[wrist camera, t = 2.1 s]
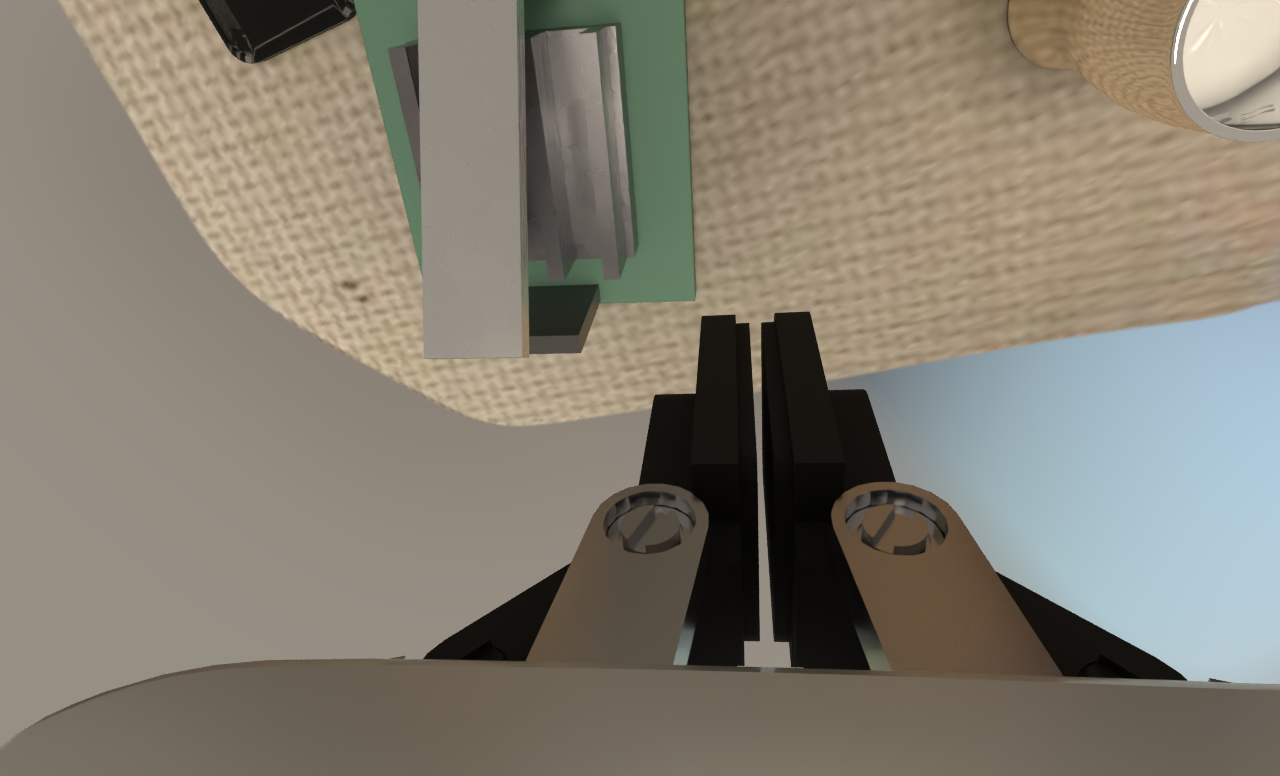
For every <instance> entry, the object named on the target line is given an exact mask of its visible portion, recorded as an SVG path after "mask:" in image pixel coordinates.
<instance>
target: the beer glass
mask: <svg viewBox="0 0 1280 776" xmlns="http://www.w3.org/2000/svg"><path fill="white" fill-rule="evenodd" d="M1008 25H1009V30H1010V34H1011V37H1012V39H1013V41H1014V43H1015V45H1016V47H1017V48H1018V50H1019V51H1020V52H1021V54H1022V55H1023V56H1024V57H1026V58H1027V59H1028V60H1029V61H1031V62H1033V63H1034V64H1036V65H1039V66H1041V67H1044V68H1049V69H1057V70H1064V69H1074V68H1076V69H1077V70H1078V71H1079V72H1080V73H1081V74H1082V75H1083V76H1084V77H1085V78H1086V79H1087V80H1088V81H1089V82H1090V83H1091V84H1092V85H1093V86H1094V87H1095V88H1096V89H1097V90H1098V91H1100V92H1101V93H1102V94H1104V95H1105V96H1106V97H1107V98H1109V99H1110V100H1111V101H1113V102H1114V103H1116V104H1117V105H1119V106H1121V107H1123V108H1125V109H1127V110H1129V111H1132V112H1134V113H1136V114H1138V115H1140V116H1143V117H1145V118H1148V119H1151V120H1154V121H1157V122H1161V123H1164V124H1167V125H1170V126H1174V127H1179V128H1183V129H1188V130H1192V131H1197V132H1202V133H1208V134H1213V135H1216V136H1218V137H1221V138H1225V139H1229V140H1234V141H1242V142H1264V141H1272V140H1278V139H1280V0H1009V5H1008Z"/></svg>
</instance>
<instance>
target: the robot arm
mask: <svg viewBox="0 0 1280 776" xmlns="http://www.w3.org/2000/svg"><path fill="white" fill-rule="evenodd" d="M761 362H762V458H763V459H762V461H763V486H764V501H765V515H766V531H767V546H768V560H769V575H770V591H771V606H772V620H773V635H774V641H775V642H789V647H790V659H791V667H802V668H771V667H769V668H768V667H736V666H744V641H760V628H759V627H760V624H759V623H760V622H759V557H758V556H759V555H758V554H759V551H758V485H757V484H758V483H757V452H756V437H755V436H756V435H755V417H754V399H753V382H752V364H751V347H750V329H749V323H738V324H736V317H735V315H716V316H702V319H701V332H700V345H699V358H698V372H697V385H696V394H661V395H655V397H654V400H653V406H652V413H651V418H650V424H649V429H648V435H647V441H646V447H645V452H644V458H643V464H642V470H641V476H640V481H639V485H638V486H634V487H629V488H627V489H624V490H622V491H620V492H618V493H615V494H613V495H612V496H611V497H609V498H608V499H607V500H605V501H604V502H603V503H602V504H601V505H600V506H599V508H598V509H597V510H596V512H595V513H594V515H593V517H592V519H591V521H590V523H589V525H588V527H587V530H586V532H585V534H584V536H583V538H582V541H581V543H580V545H579V547H578V549H577V551H576V553H575V555H574V558H573V560H572V562H571V563H570V564H568V565H567V566H565V567H563V568H562V569H560V570H558V571H557V572H555V573H553V574H552V575H550V576H548V577H547V578H545V579H544V580H542V581H541V582H539V583H537V584H536V585H534V586H532V587H531V588H529V589H527V590H526V591H524V592H522V593H521V594H519V595H517V596H516V597H514V598H513V599H511V600H509V601H508V602H506V603H505V604H503V605H501V606H500V607H498V608H496V609H495V610H493V611H492V612H490V613H488V614H487V615H485V616H483V617H482V618H480V619H478V620H477V621H475V622H473V623H472V624H470V625H469V626H467V627H465V628H464V629H462V630H460V631H459V632H457V633H456V634H454V635H452V636H451V637H449V638H448V639H446V640H444V641H443V642H442V643H440V644H439V645H438V646H436V647H435V648H434V649H433V650H431V651H430V652H429V653H427V655H426V656H425V657H424V659H406V658H405V656H402V657H396V658H391V659H369V658H368V659H312V660H311V659H308V660H307V659H306V660H264V661H253V662H242V663H232V664H221V665H220V664H219V665H212V666H207V667H202V668H196V669H190V670H185V671H180V672H174V673H170V674H163V675H160V676H157V677H154V678H150V679H146V680H143V681H140V682H136V683H133V684H130V685H126V686H123V687H119V688H116V689H112V690H109V691H106V692H103V693H101V694H98V695H95V696H93V697H91V698H88V699H85V700H83V701H80V702H77V703H75V704H72V705H70V706H68V707H66V708H64V709H62V710H59V711H57V712H55V713H53V714H50V715H48V716H46V717H44V718H42V719H41V720H39V721H38V722H36V723H34V724H33V725H31V726H30V727H28V728H26V729H24V730H23V731H21V732H20V733H18V734H16V735H15V736H14V737H12V738H11V739H10V740H9V741H7V742H6V743H5V744H3V745H2V746H1V747H0V776H1280V684H1249V683H1231V682H1226V681H1221V680H1216V679H1211V678H1209V680H1208V682H1201V681H1187V679H1186V678H1184V677H1183V676H1182V675H1181V674H1180V673H1179V672H1177V671H1176V670H1174V669H1173V668H1171V667H1170V666H1168V665H1166V664H1165V663H1163V662H1162V661H1160V660H1159V659H1157V658H1156V657H1154V656H1152V655H1150V654H1148V653H1146V652H1145V651H1143V650H1141V649H1139V648H1137V647H1135V646H1133V645H1131V644H1130V643H1128V642H1126V641H1124V640H1122V639H1120V638H1118V637H1117V636H1115V635H1113V634H1111V633H1109V632H1107V631H1105V630H1103V629H1102V628H1100V627H1098V626H1096V625H1094V624H1093V623H1091V622H1089V621H1087V620H1085V619H1083V618H1081V617H1079V616H1078V615H1076V614H1074V613H1072V612H1070V611H1068V610H1066V609H1065V608H1063V607H1061V606H1059V605H1057V604H1055V603H1053V602H1051V601H1049V600H1048V599H1046V598H1044V597H1042V596H1040V595H1039V594H1037V593H1035V592H1033V591H1031V590H1029V589H1027V588H1026V587H1024V586H1022V585H1020V584H1018V583H1016V582H1014V581H1012V580H1011V579H1009V578H1007V577H1005V576H1003V575H1001V574H999V573H998V572H996V571H994V569H993V568H992V566H991V564H990V563H989V561H988V560H987V559H986V557H985V555H984V554H983V552H982V551H981V550H980V548H979V546H978V544H977V543H976V541H975V540H974V538H973V537H972V535H971V534H970V532H969V531H968V529H967V528H966V526H965V525H964V523H963V521H962V520H961V518H960V517H959V516H958V514H957V513H956V512H955V511H954V510H953V509H952V507H951V506H949V504H948V503H947V502H945V501H944V500H942V499H940V498H939V497H938V496H936V495H935V494H933V493H932V492H929V491H926V490H923V489H921V488H918V487H916V486H913V485H908V484H902V483H897V482H896V481H895V478H894V475H893V472H892V468H891V466H890V462H889V459H888V456H887V453H886V450H885V447H884V444H883V441H882V438H881V434H880V431H879V428H878V425H877V422H876V419H875V416H874V413H873V410H872V407H871V403H870V400H869V397H868V394H867V392H866V390H864V389H857V390H856V389H855V390H828V387H827V383H826V379H825V374H824V370H823V366H822V362H821V357H820V353H819V349H818V344H817V340H816V336H815V332H814V327H813V323H812V319H811V314H810V312H789V313H775V315H774V322H763V323H761Z"/></svg>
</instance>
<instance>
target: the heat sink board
mask: <svg viewBox="0 0 1280 776" xmlns="http://www.w3.org/2000/svg"><path fill="white" fill-rule="evenodd" d="M354 4H355V8H356V12H357V16H358V20H359V24H360V28H361V32H362V36H363V40H364V44H365V48H366V52H367V57H368V61H369V65H370V69H371V73H372V77H373V81H374V85H375V89H376V93H377V97H378V101H379V105H380V109H381V113H382V117H383V121H384V125H385V129H386V133H387V137H388V141H389V145H390V149H391V153H392V157H393V161H394V165H395V169H396V173H397V177H398V181H399V185H400V189H401V193H402V197H403V201H404V205H405V209H406V213H407V217H408V221H409V225H410V229H411V233H412V237H413V241H414V245H415V249H416V253H417V257H418V261H419V265H420V269H421V273H422V218H421V163H420V108H419V53H418V0H354ZM524 39H525V103H526V167H527V231H528V296H529V354H554V353H581V351H582V349H583V346H584V343H585V341H586V338H587V335H588V333H589V330H590V327H591V325H592V322H593V319H594V317H595V314H596V311H597V309H598V306H599V303H635V302H673V301H695V296H696V277H695V251H694V225H693V198H692V172H691V146H690V120H689V93H688V67H687V41H686V15H685V0H524ZM422 277H423V273H422Z"/></svg>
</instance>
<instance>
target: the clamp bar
mask: <svg viewBox="0 0 1280 776" xmlns="http://www.w3.org/2000/svg"><path fill="white" fill-rule="evenodd" d="M418 53H419V108H420V163H421V218H422V273H423V328H424V359H477V358H529V296H528V231H527V167H526V103H525V39H524V0H418Z"/></svg>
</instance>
